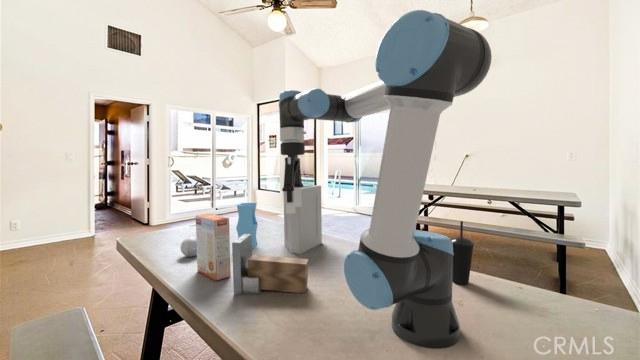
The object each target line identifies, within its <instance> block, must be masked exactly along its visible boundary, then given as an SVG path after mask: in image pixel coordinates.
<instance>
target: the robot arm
mask: <svg viewBox="0 0 640 360" xmlns="http://www.w3.org/2000/svg"><path fill="white" fill-rule="evenodd" d="M374 64H375V71H376V72H377V73H378V74H377V76H378V78H379V80H380V81H376V82H375V83H372V84H369V85H366V86H365V87H363V88H360V89H357V90H354V91H352V92H350V93H348V94H347V93H346V94H344V95H338V94H337V95H336V94H329V93H326V91H324V90H323V89H322V88H316V87H315V88H310V89H308V90H304V91H303V92H302V91H301V90H300V91H299V90H294V89H289V90H283V91H281V92H280V94H279V96H278V97H279V100H278V101H279V102H278V107H279V108H278V109H279V110H278V111H279V113H278V114H279V140H280V142H281V143H280V155H281V156H285V158H284V176H283V177H284V178H283V186H284V187H283V188H281V191H282V192H283V191H285V202H286V214H292V213H295V207H301V206H302V203H301V187H303V185H304V183H303V182H302V172H301V171H302V170H301V158H300V157H299V156H303V155H305V153H306V151H305V149H306V148H305V142H304V141H305V135H306V134H307V132H306V131H305V121H307V120H315V121H316V120H319V121H321V120H322V121H332V122H333V121H334V122H343V123H357V122H359V121H360V120H361V119H362V118H363V117H367V116H370V115H375V114H377V113H378V114H379V113H382V112H384V111H389V114H388V120H387V127H386V131H385V138H384V144H383V148H382V155H381V160H380V167H379V173H378V178H377V185H376V191H375V196H374V202H373V208H372V214H371V219H370V225H369V228H367V229H365V230H364V231H363V232H361V234H360V240H359V245H358V249H357V250H352V251H350V253H348V254H347V255H346V257H345V259H344V265H343V272H344V277H345V278H344V279H345V281H346V285H347V286H348V288H349V290H350V292H351V294H352V296H353V297H354V298H355V300H356V301H357V302H358V303H359V304H361V305H362V306H363V307H365V308H366V309H369V310H371V311H372V310H374V311H377V310H380V309H381V310H382V309H384V308H389V307H391V306H393V305H394V308H393V309H392V310H393V311H392V313H391V327H392V330H393V332H394V333H395V334H396V335H397V336H398V337H399V338H400V339H402V340H404V341H406V342H408V343H409V344H412V345H415V346H416V347H417V346H418V347H420V348H426V349H431V350H432V349H437V350H438V349H440V350H441V349H446V348H450V347H453V346H454V345H456V344H457V343H458V342H459V341H460V337H461V327H460V321H459V319H458V315H457V312H456V309H455V306H454V303H453V282H452V281H453V256H454V253H453V243H452V240H451V239H450V238H451V237H449V236H447V235H444V234H441V233H436V232H433V231H427V230H426V231H425V230H419V229H417V223H418V219H419V214H420V210H421V205H422V201H423V195H424V191H425V186H426V183H427V178H428V172H429V168H430V163H431V159H432V156H433V155H432V154H433V150H434V145H435V140H436V136H437V135H436V134H437V131H438V126H439V121H440V117H441V115H442V113H443V112H444V111H445V110H447V109H448V108H449V107H451V106H453V101H454V98H455V97H456V98H457V97H459V96H460V97H461V96H463V95H465V94H468V93H470V92H472V91H473V90H474V89H476V88H477V87H479V85H480V84H481V83H482V82H483V81H484V79H485V78H486V77H487V75H488V73H489V70H490V68H491V64H492V50H491V47H490V43H489V42H488V41H487V39H486V37H485V36H484V35H483V34H482V33H480V32H479V31H477V30H475V29H473V28H470V27H466V26H465V25H462V24H460V23H458V22H456V21H453V20H451V19H449V18H447V17H446V16H444V15H443V14H441V13H438V12H430V11H427V10H423V9H416V10H412V11H409V12H407V13H405V14H403V15H401V16H399V17H398V18H397V19H395V21H393V23H392V24H391V26H390V27H389V28H388V29H387V30H386V31H385V32H384V35H383V36H382V37H381V39H380V42H379V44H378V48H377V51H376V53H375V63H374Z"/></svg>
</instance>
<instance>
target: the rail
mask: <svg viewBox="0 0 640 360" xmlns="http://www.w3.org/2000/svg"><path fill="white" fill-rule="evenodd" d="M248 276H250V277H259V282H260V289H262V290H264V291H276V292H287V293H296V294H306V291H307V289H308V279H309V278H308V276H309V259H308V258H296V257H284V256H283V257H282V256H272V255H259V254H252V256H251V257H250V258H249V259H248Z"/></svg>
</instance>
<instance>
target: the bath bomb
mask: <svg viewBox="0 0 640 360" xmlns="http://www.w3.org/2000/svg"><path fill="white" fill-rule="evenodd" d="M180 252H181V253H182V255H184V257H190V258H191V257H194V256H197V238H196V237H187V238H185V239H184V240H183V241H182V242H181V245H180Z"/></svg>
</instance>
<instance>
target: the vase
mask: <svg viewBox="0 0 640 360" xmlns="http://www.w3.org/2000/svg"><path fill="white" fill-rule="evenodd" d="M256 207H257V202H240V203H238V204H236V208H237V213H238V221H237V223H236V224H237V225H236V234H237V236H238V237H237V239H238V238H239V237H241V236H242V235H244V234H251V236H252V249H255V248H256V247H257V245H258V240H257V230H258V225H259V224H258V221H257V219H256V209H257V208H256Z"/></svg>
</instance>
